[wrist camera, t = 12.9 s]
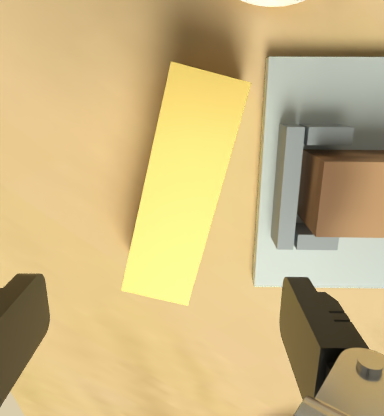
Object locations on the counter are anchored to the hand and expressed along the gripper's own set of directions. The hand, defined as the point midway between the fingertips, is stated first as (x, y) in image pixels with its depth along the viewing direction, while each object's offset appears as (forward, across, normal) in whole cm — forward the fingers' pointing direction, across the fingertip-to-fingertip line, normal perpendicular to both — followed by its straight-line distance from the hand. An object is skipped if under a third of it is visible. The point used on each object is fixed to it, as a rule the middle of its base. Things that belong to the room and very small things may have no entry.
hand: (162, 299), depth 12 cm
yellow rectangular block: (+18, 0, 0) cm, 18 cm away
